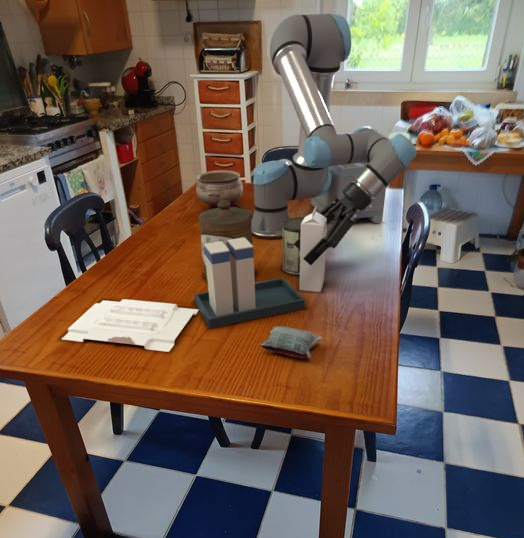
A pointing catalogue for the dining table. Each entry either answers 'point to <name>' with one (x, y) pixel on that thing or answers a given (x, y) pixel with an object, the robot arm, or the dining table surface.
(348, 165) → the toaster
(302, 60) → the robot arm
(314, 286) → the milk
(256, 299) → the tray
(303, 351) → the packaged food
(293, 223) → the coffee can
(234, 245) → the carton
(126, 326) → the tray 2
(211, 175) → the cooking pot
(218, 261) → the carton
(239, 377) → the dining table surface
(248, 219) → the wooden container
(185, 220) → the dining table surface
